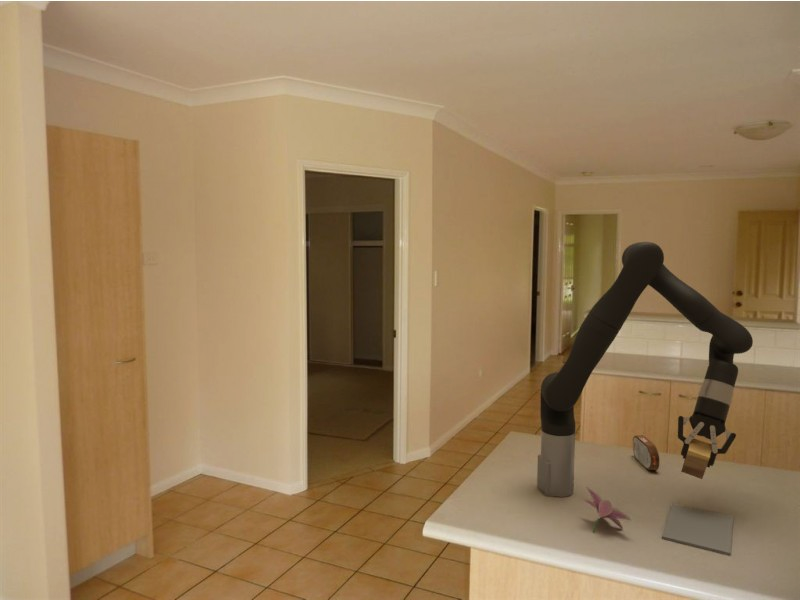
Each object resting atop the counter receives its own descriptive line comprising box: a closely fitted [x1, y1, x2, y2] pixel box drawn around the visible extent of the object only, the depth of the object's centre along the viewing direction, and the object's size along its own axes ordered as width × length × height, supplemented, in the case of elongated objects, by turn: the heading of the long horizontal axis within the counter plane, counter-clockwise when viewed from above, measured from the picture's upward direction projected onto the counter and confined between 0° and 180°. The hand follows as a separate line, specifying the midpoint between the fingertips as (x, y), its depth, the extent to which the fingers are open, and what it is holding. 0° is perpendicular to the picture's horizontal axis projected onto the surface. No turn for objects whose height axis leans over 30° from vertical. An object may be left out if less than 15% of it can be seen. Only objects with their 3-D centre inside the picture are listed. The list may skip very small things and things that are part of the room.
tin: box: [632, 434, 660, 471], centre depth 179 cm, size 15×3×8 cm, turn 179°
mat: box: [661, 503, 734, 556], centre depth 139 cm, size 20×14×1 cm
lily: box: [583, 486, 632, 534], centre depth 139 cm, size 12×12×10 cm
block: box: [680, 437, 712, 480], centre depth 147 cm, size 5×5×8 cm
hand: (696, 462), depth 146 cm, fingers closed on block, 5 cm apart
